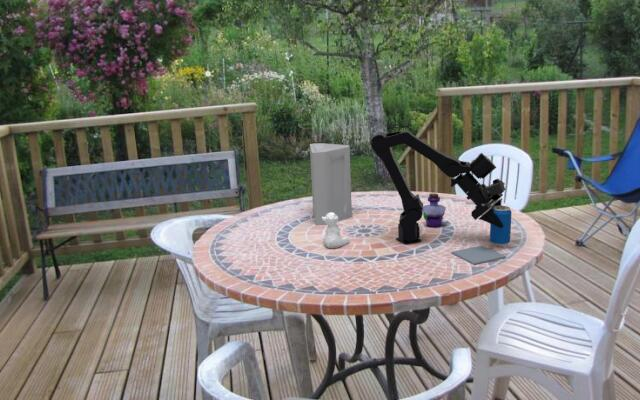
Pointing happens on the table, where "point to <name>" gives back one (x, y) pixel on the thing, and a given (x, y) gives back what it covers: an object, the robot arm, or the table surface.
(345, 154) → the gray triangular prism
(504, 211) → the beverage can
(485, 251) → the mat
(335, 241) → the sitting furry creature
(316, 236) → the table surface
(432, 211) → the potion bottle
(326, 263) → the table surface
